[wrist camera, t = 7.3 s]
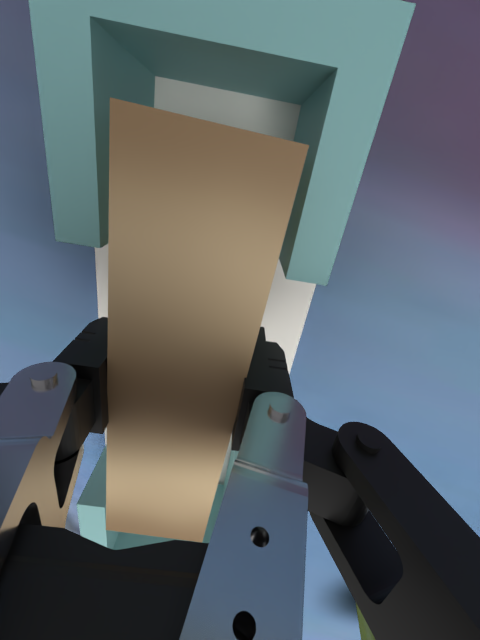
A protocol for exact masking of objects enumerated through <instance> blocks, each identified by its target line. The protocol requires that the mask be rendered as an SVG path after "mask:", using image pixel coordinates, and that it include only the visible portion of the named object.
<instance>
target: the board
mask: <svg viewBox="0 0 480 640" xmlns="http://www.w3.org/2000/svg"><path fill="white" fill-rule="evenodd" d="M154 108H157V109H161V110H165V111H169V112H173V113H177V114H182V115H186V116H190V117H194V118H198V119H202V120H206V121H211V122H215V123H219V124H223V125H227V126H231V127H236V128H240V129H244V130H248V131H252V132H256V133H261V134H265V135H269V136H273V137H277V138H281V139H285V140H290V141H294V136H295V132H296V127H297V122H298V118H299V113H300V108H301V105H298V104H293V103H288V102H283V101H278V100H273V99H268V98H263V97H258V96H253V95H248V94H243V93H238V92H233V91H228V90H223V89H218V88H213V87H208V86H203V85H198V84H193V83H188V82H183V81H178V80H173V79H168V78H163V77H158V76H155V95H154ZM95 260H96V279H97V298H98V316H99V318H101V317H108V244H107V245H105V246H103V247H102V248H96V247H95ZM315 286H316V284H313V283H307V282H301V281H295V280H289V279H286V278H285V275H284V272H283V269H282V266H281V263H280V260H279V259H278V263H277V267H276V270H275V274H274V278H273V281H272V285H271V289H270V293H269V296H268V300H267V304H266V307H265V311H264V315H263V319H262V322H261V326H260V327H264V329H265V337H266V341H270V342H276V343H278V345H279V346H280V347H281V348H282V349H283V351H284V353H285V358H286V363H287V367H288V372H289V373H290V370H291V367H292V363H293V360H294V357H295V353H296V350H297V347H298V343H299V340H300V337H301V333H302V330H303V327H304V323H305V320H306V317H307V313H308V310H309V307H310V303H311V300H312V297H313V293H314V290H315ZM231 443H232V434H231V437H230V441H229V445H228V449H227V452H226V456H225V460H224V463H223V467H222V471H221V475H220V478H219V482H218V484H220V485H224V481H225V477H226V472H227V468H228V463H229V459H230V454H231ZM106 444H107V427H106V429H105V446H106Z"/></svg>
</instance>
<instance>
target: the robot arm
mask: <svg viewBox="0 0 480 640" xmlns="http://www.w3.org/2000/svg"><path fill="white" fill-rule="evenodd" d="M107 349H108V317H101V318H99V319H97V320H95V321H93V322H91V323H89V324H88V325H87V326H86V327H85V328H84V330H83V331H82V333H80V334H79V335H78V336H77V337H76V338H75V340H73V341H72V342H71V343H70V344H69V345H68V346H67V347H66V348H65V349H64V350H63V351H62V352H61V353H60V354H59V355H58V356H57V357H56V358H55V360H54V361H53V362H44V363H39V364H35V365H31V366H29V367H26V368H25V369H23V370H21V371H19V372H18V373H17V374H16V375H14V377H13V378H12V379H11V381H10V382H8V383H0V640H302V629H303V606H304V583H305V560H306V537H307V514H308V511H309V512H310V515H311V518H312V520H313V522H314V523H315V525H316V527H317V529H318V531H319V533H320V535H321V537H322V539H323V541H324V543H325V544H326V546H327V548H328V550H329V552H330V554H331V556H332V558H333V560H334V562H335V563H336V565H337V567H338V569H339V571H340V573H341V575H342V577H343V579H344V581H345V583H346V584H347V586H348V588H349V590H350V592H351V594H352V596H353V598H354V600H355V602H356V603H357V605H358V607H359V609H360V611H361V613H362V615H363V617H364V619H365V621H366V623H367V624H368V626H369V628H370V630H371V632H372V634H373V636H374V638H375V640H480V537H479V536H478V535H477V534H476V533H475V532H474V531H473V530H472V529H471V528H470V527H469V525H468V524H467V523H466V522H465V521H464V520H463V519H462V518H461V517H460V516H459V515H458V513H457V512H456V511H455V510H454V509H453V508H452V507H451V506H450V505H449V504H448V503H447V502H446V500H445V499H444V498H443V497H442V496H441V495H440V494H439V493H438V492H437V491H436V490H435V488H434V487H433V486H432V485H431V484H430V483H429V482H428V481H427V480H426V479H425V478H424V477H423V475H422V474H421V473H420V472H419V471H418V470H417V469H416V468H415V467H414V466H413V465H412V463H411V462H410V461H409V460H408V459H407V458H406V457H405V456H404V455H403V454H402V453H401V452H400V450H399V449H398V448H397V447H396V446H395V445H394V444H393V443H392V442H391V441H390V440H389V439H388V438H387V437H386V436H385V435H384V434H383V433H382V432H380V431H379V430H377V429H376V428H374V427H372V426H370V425H367V424H364V423H360V422H348V423H345V424H343V425H342V426H341V427H340V429H339V431H338V432H337V431H335V430H332V429H330V428H327V427H324V426H322V425H319V424H317V423H315V422H313V421H311V420H310V419H308V418H307V417H306V412H305V410H304V408H303V406H302V405H301V404H300V403H299V402H298V401H297V400H295V399H294V396H293V391H292V387H291V382H290V377H289V372H288V367H287V363H286V358H285V353H284V351H283V349H282V348H281V347H280V346H279V345H278V343H276V342H270V341H266V337H265V329H264V327H260V330H259V333H258V337H257V341H256V345H255V348H254V352H253V356H252V359H251V363H250V367H249V371H248V374H247V378H245V377H244V382H243V387H242V392H241V397H240V401H239V406H238V411H237V415H236V419H235V423H234V426H233V430H232V443H231V450H233V451H239V452H238V456H237V459H235V461H234V464H233V467H232V470H231V474H230V477H229V480H228V483H227V487H226V490H225V493H224V496H223V499H222V503H221V506H220V509H219V512H218V516H217V519H216V522H215V525H214V529H213V532H212V535H211V538H210V542H209V543H202V542H192V541H183V540H171V541H165V542H160V543H154V544H148V545H143V546H137V547H132V548H126V549H120V550H114V549H110V548H107V547H105V546H103V545H100V544H98V543H96V542H94V541H91V540H89V539H87V538H85V537H82V536H80V535H78V534H76V533H73V532H71V531H69V530H67V529H65V522H66V517H67V513H68V509H69V505H70V501H71V498H72V494H73V490H74V487H75V483H76V479H77V475H78V472H79V468H80V464H81V460H82V457H83V453H84V445H83V443H84V441H85V439H86V437H87V436H88V434H89V432H92V433H100V434H103V433H104V431H105V429H106V427H107V425H108V423H109V417H108V396H107ZM370 512H371V513H372V514H371V513H370ZM373 516H374V517H373ZM375 519H376V520H375ZM377 522H378V523H377ZM379 525H380V526H381V527H380V526H379ZM381 528H382V529H383V530H382V529H381ZM384 532H385V533H384ZM386 535H387V536H386ZM388 538H389V539H388ZM390 541H391V542H392V543H391V542H390ZM393 545H394V546H393ZM395 548H396V549H395Z"/></svg>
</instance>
